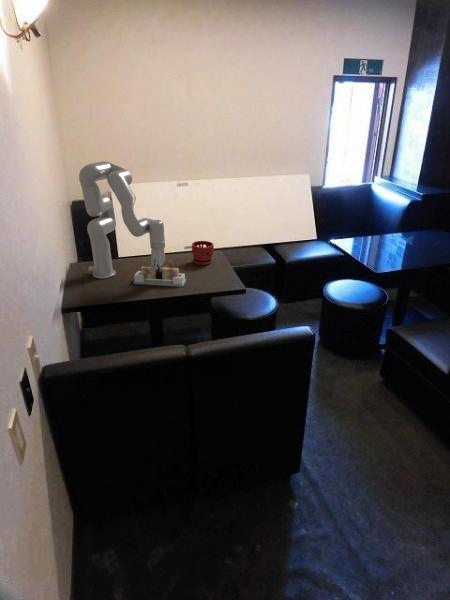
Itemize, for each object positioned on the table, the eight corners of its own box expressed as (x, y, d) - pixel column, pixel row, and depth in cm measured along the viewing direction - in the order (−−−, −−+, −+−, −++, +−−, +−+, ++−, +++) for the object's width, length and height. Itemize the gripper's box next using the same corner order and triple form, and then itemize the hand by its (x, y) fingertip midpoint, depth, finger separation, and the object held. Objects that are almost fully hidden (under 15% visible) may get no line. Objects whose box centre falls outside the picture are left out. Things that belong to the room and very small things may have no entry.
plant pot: (193, 267, 240) (193, 247, 235) (191, 259, 252) (190, 241, 247) (215, 265, 242) (215, 246, 237) (211, 258, 254) (211, 239, 249)
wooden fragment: (180, 275, 229) (180, 273, 229) (160, 275, 228) (160, 273, 228) (181, 259, 252) (181, 258, 252) (163, 260, 252) (163, 258, 251)
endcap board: (133, 283, 217) (132, 275, 215) (138, 278, 224) (137, 270, 222) (182, 286, 213) (182, 278, 212) (186, 280, 221) (186, 273, 219)
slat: (141, 278, 218) (140, 268, 215) (143, 276, 220) (142, 266, 218) (178, 280, 215) (177, 269, 213) (179, 278, 218) (178, 268, 215)
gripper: (155, 239, 217) (157, 271, 225) (145, 249, 203) (148, 283, 211) (168, 240, 216) (170, 272, 224) (160, 249, 202) (162, 283, 210)
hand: (160, 277), depth 217 cm, fingers closed on slat, 2 cm apart
